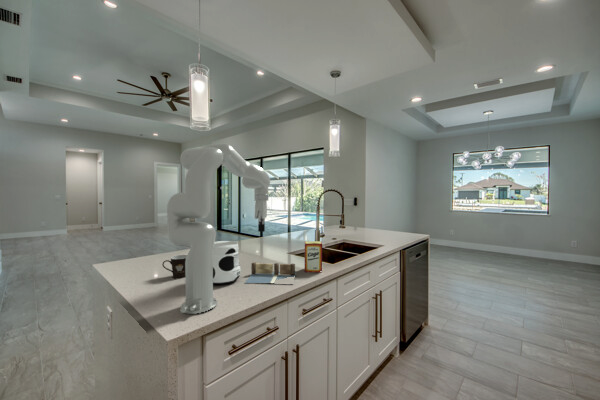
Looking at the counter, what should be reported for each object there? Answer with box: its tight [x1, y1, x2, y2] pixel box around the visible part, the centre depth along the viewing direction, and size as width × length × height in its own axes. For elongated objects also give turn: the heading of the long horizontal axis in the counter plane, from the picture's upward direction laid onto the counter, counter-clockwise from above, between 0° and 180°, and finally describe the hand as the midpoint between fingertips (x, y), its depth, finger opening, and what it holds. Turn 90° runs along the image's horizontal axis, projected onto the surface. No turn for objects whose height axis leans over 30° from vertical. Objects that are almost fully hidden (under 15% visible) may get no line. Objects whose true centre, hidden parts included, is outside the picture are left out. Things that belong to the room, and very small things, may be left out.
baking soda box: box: [304, 240, 323, 273], centre depth 137 cm, size 10×6×16 cm
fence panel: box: [250, 262, 274, 274], centre depth 129 cm, size 11×2×5 cm, turn 86°
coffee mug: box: [161, 254, 188, 280], centre depth 126 cm, size 12×9×10 cm
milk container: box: [213, 240, 242, 285], centre depth 120 cm, size 17×17×18 cm
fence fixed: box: [273, 262, 296, 276], centre depth 129 cm, size 11×2×6 cm, turn 86°
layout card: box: [244, 270, 297, 284], centre depth 125 cm, size 18×23×1 cm
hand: (261, 231), depth 135 cm, fingers closed
